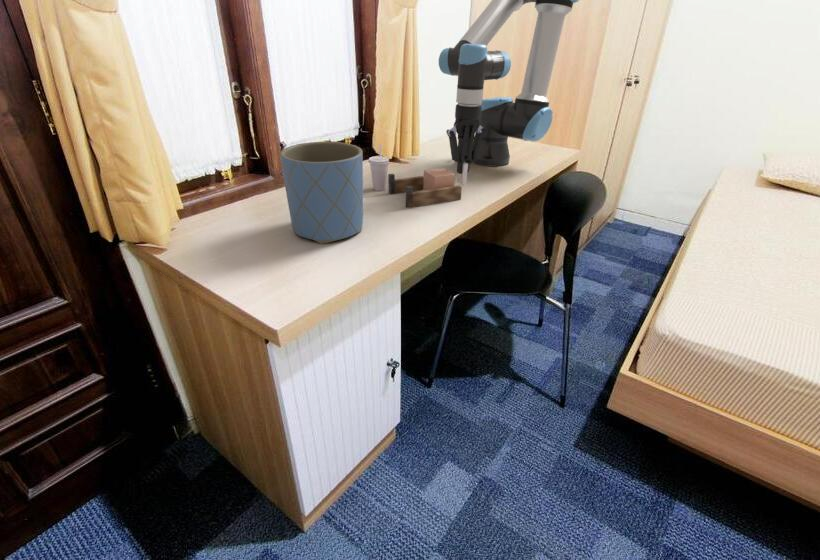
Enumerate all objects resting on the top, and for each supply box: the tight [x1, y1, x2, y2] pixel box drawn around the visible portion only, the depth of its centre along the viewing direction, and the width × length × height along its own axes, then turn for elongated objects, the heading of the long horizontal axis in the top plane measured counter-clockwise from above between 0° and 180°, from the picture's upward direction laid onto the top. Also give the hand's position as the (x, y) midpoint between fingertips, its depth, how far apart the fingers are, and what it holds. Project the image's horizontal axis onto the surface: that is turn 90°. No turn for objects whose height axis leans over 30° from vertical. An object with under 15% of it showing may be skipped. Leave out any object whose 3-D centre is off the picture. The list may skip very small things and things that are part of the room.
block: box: [422, 167, 456, 191], centre depth 135 cm, size 7×7×7 cm
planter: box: [279, 141, 364, 245], centre depth 107 cm, size 19×19×20 cm
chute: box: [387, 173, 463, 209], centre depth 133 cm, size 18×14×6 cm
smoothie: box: [368, 144, 390, 192], centre depth 136 cm, size 6×6×14 cm
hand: (462, 182), depth 138 cm, fingers closed
